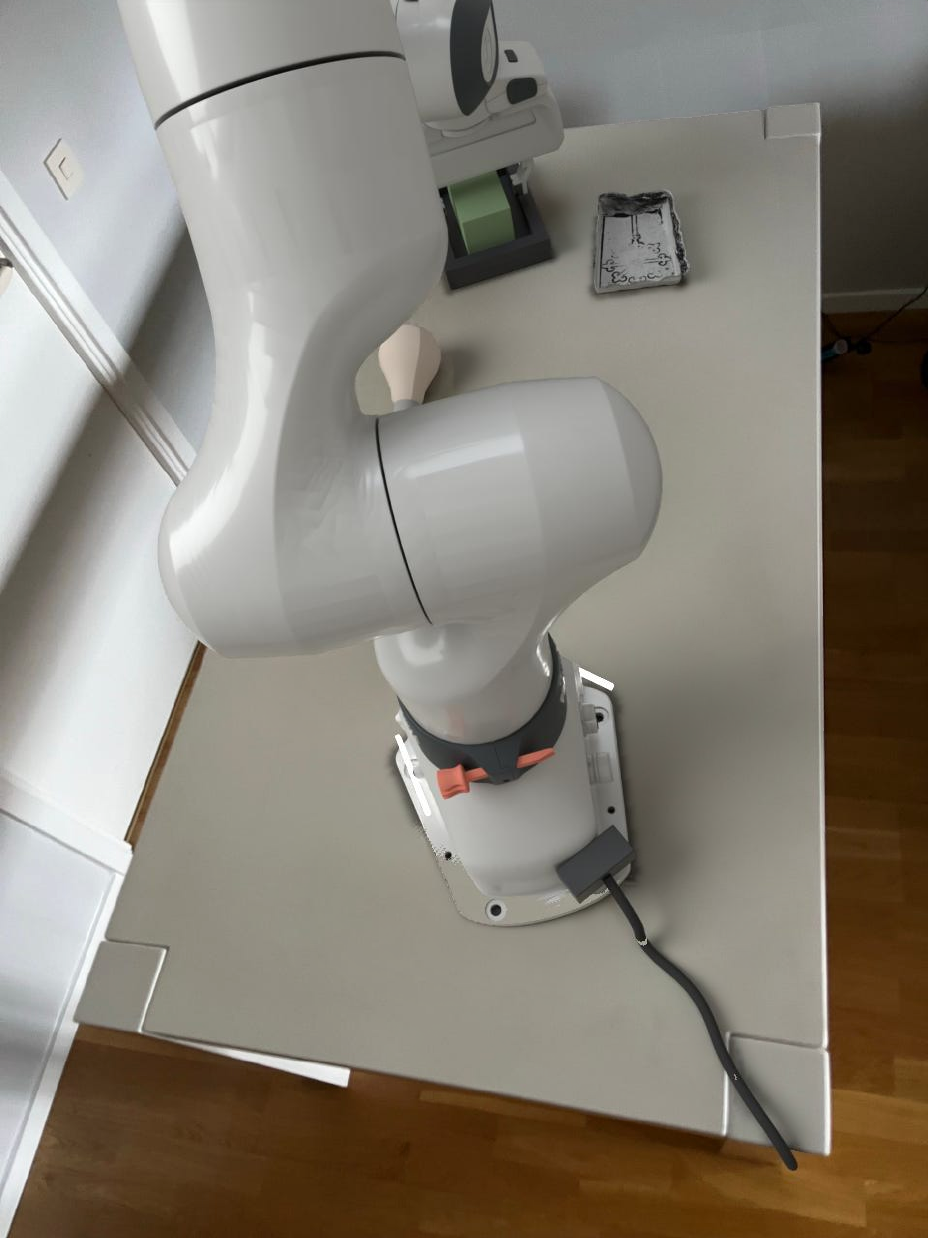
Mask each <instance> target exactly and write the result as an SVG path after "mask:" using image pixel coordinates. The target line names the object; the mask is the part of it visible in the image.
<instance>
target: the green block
mask: <svg viewBox="0 0 928 1238" xmlns="http://www.w3.org/2000/svg"><path fill="white" fill-rule="evenodd" d="M447 187H448V192H449V196H450V200H451V204H452V206H453V209H454V212H455V215H456V218H457V221H458V224H459V227H460V230H461V233H462V236H463V239H464V242H465V245H466V248H467V251H468V254H469V255H470V254H473V253H476V252H479V251H482V250H485V249H489V248H492V247H495V246H498V245H501V244H504V243H507V242H510V241H513V240H515V234H514V228H513V222H512V215H511V209H510V206H509V203H508V201H507V198H506V195H505V193H504V190H503V188H502V185H501V182H500V180H499V177H498V175H497V172H496V170H495V171H492V172H489V173H486V174H483V175H480V176H477V177H474V178H471V179H467V180H464V181H461V182H458V183H455V184H452V185H449V186H447Z"/></svg>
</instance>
